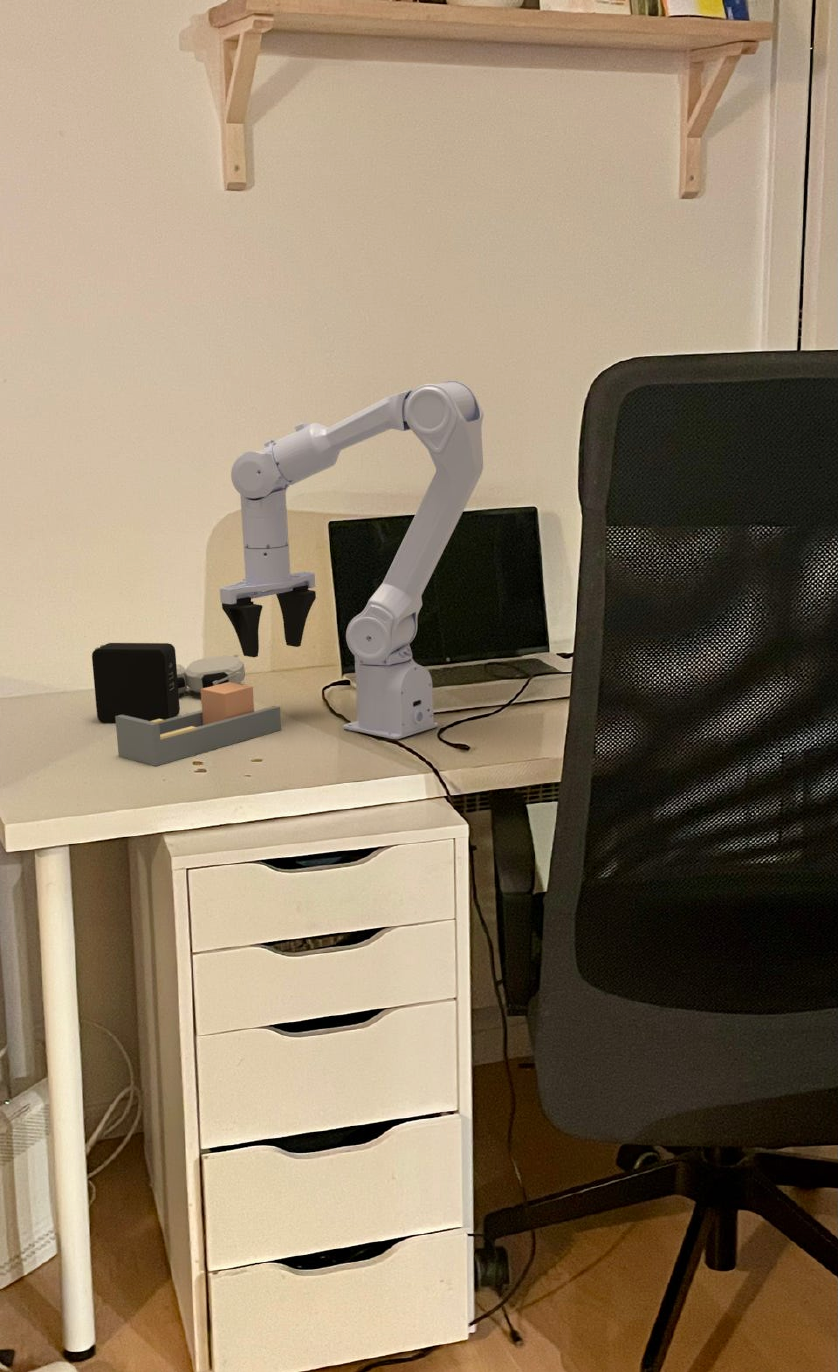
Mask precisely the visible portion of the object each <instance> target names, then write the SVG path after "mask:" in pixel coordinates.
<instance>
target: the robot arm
mask: <svg viewBox="0 0 838 1372" xmlns="http://www.w3.org/2000/svg"><path fill="white" fill-rule="evenodd" d="M484 415H485V414H484V411H483V410H482V407H481V406H480V403H479V401H478V399H477V396H476V395H475V393H474V391H473V389H471V387H469V385H467V384H465V383H464V382H461V381H458V380H446V381H443V382H441V383H425V384H421V385H419V386H417V387H415V388H413V389H408V390H405V391H402V392H398V393H395V394H392V395H388V396H386V397H385V398H383V399H380V400H379V401H377V402H375V403H373V404H371V405H369V406H367V407H365V408H364V409H361V410H359V411H357V412H356V413H354V414H352V415H350V416H348V417H347V418H345V419H342V420H341V421H339V422H337V423H334V424H332V425H331V426H329V427H327V426H325V425H324V424H321V423H318V422H313V423H311V424H309V423H308V422H307V421H305V422H301V423H298V424H297V425H295V426H294V429H295V431H294V432H292V433H290V434H288V435H286V436H283V437H282V438H280V439H277V440H276V441H275V439H269V440H267V441H264V442H263V446H264V448H263V449H260V450H247V451H245V452H243V454H242V455H240V456H239V457H237V458H236V459H235V461H234V462H233V464H232V467H231V473H230V476H231V477H230V479H231V482H232V485H233V487H234V489H235V490H236V492H238V493H239V494H240V495H239V496H240V508H241V509H240V510H241V527H242V530H241V531H242V543H243V559H244V572H245V573H244V575H245V577H244V578H242V581H239V582H236V583H233V584H230V585H227V586H223V587H219V596H220V597H219V599H220V603H221V608H222V611H223V612H224V613H225V615H226V616H227V618H228V620H229V622H230V623H231V625H232V626H233V628H234V631H235V634H236V636H237V639H238V642H239V644H240V648H241V651H242V654H243V656H244V657H247V658H248V657H249V658H258V657H259V651H260V650H259V649H260V644H259V643H260V641H259V640H260V639H259V628H260V627H259V626H260V619H261V614H262V611H263V605H262V604H257V603H254V602H255V601H252V600H253V599H258V598H263V597H264V598H265V597H268V596H272V595H276V598H277V600H278V603H279V607H280V611H281V615H282V616H281V617H282V621H283V631H284V632H283V633H284V639H285V643H286V644H285V645H286V646H288V647H293V648H294V647H295V648H299V647H301V646H302V641H303V635H304V630H305V627H306V622H307V619H308V616H309V613H310V611H311V609H312V606H313V604H314V603H315V600H316V599H317V593H316V590H312V589H313V588H316V575H315V572H309V571H302V572H293V573H291V562H290V561H291V559H290V544H289V529H288V528H289V527H288V509H287V494H286V493H287V490H288V488H289V487H290V486H292V485H295V484H297V483H299V482H301V481H303V480H306V479H308V478H310V477H312V476H314V475H317V474H319V473H321V472H323V471H325V470H328V469H330V468H331V467H333V466H335V465H336V463H337V461H338V459H339V455H340V452H341V451H343V450H345V449H347V448H349V447H352V446H354V445H356V444H358V443H361V442H363V441H366V440H369V439H370V438H373V437H375V436H378V435H380V434H383V433H385V432H387V431H389V430H397V431H401V432H406V431H410V430H411V431H412V433H413V434H414V435H415V436H416V437H417V438H418V440H419V441H420V442H421V444H422V445H423V446H424V447H425V448H426V449H427V450H428V453H429V455H430V458H431V460H432V463H433V465H434V466H435V467H434V468H435V473H434V475H433V477H432V479H431V481H430V484H429V485H428V487H427V490H426V492H425V494H424V496H423V498H422V500H421V502H420V504H419V506H418V509H417V510H416V513H415V514H414V517H413V519H412V521H411V523H410V524H409V527H408V529H407V531H406V533H405V536H404V537H403V539H402V541H401V544H400V546H399V548H398V549H397V552H396V554H395V556H394V558H393V561H392V563H391V565H390V567H389V569H388V570H387V573H386V575H385V577H384V579H383V581H382V583H381V584H380V585H379V587H378V588H377V589H376V590H375V592H374V593H373V594H372V595H371V597H370V598H369V599H368V601H367V604H365V605H366V606H365V607H364V609H363V610H362V611H361V612H360V613H359V614H357V615H356V616H354V617H353V618H351V620H350V622H348V625H347V628H346V631H345V639H346V644H347V647H348V650H350V652H351V653H352V655H353V656H354V670H355V671H354V672H355V674H354V675H355V689H356V691H355V693H356V696H355V697H356V711H357V717H356V718H357V720H354V721H351V722H348V723H345V724H343V725H342V727H343V729H345V730H348V731H354V732H360V733H363V734H368V735H372V736H376V737H383V738H385V739H386V738H387V739H392V740H401V739H403V738H406V737H408V736H412V735H415V734H419V733H422V732H425V731H428V730H431V729H434V728H437V727H439V723H438V722H436V721H435V720H434V699H433V698H434V694H433V691H434V690H433V679H432V675H431V673H430V671H429V670H428V669H427V668H426V667H425V666H422V665H420V664H418V663H417V662H416V661H415V660H414V659H413V652H412V649H411V646H410V644H411V643H412V642H413V640H414V639H415V637H416V635H417V632H418V617H419V613H420V610H421V608H422V607H423V599H422V597H423V596H422V595H423V594H424V591H425V589H426V587H427V585H428V583H429V581H430V579H431V577H432V575H433V573H434V571H435V569H436V567H437V565H438V563H439V561H440V559H441V557H442V555H443V553H444V550H445V549H446V546H447V545H448V542H449V541H450V538H451V537H452V534H453V533H454V531H455V529H456V526H457V525H458V523H459V520H460V519H461V516H462V514H463V512H464V510H465V509H466V506H467V505H468V502H469V500H470V498H471V497H472V494H473V492H474V490H475V488H476V487H477V484H478V481H479V479H481V475H482V473H483V470H484V455H483V451H484V450H483V436H482V426H483V425H482V424H483V420H484ZM310 589H311V590H310Z"/></svg>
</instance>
